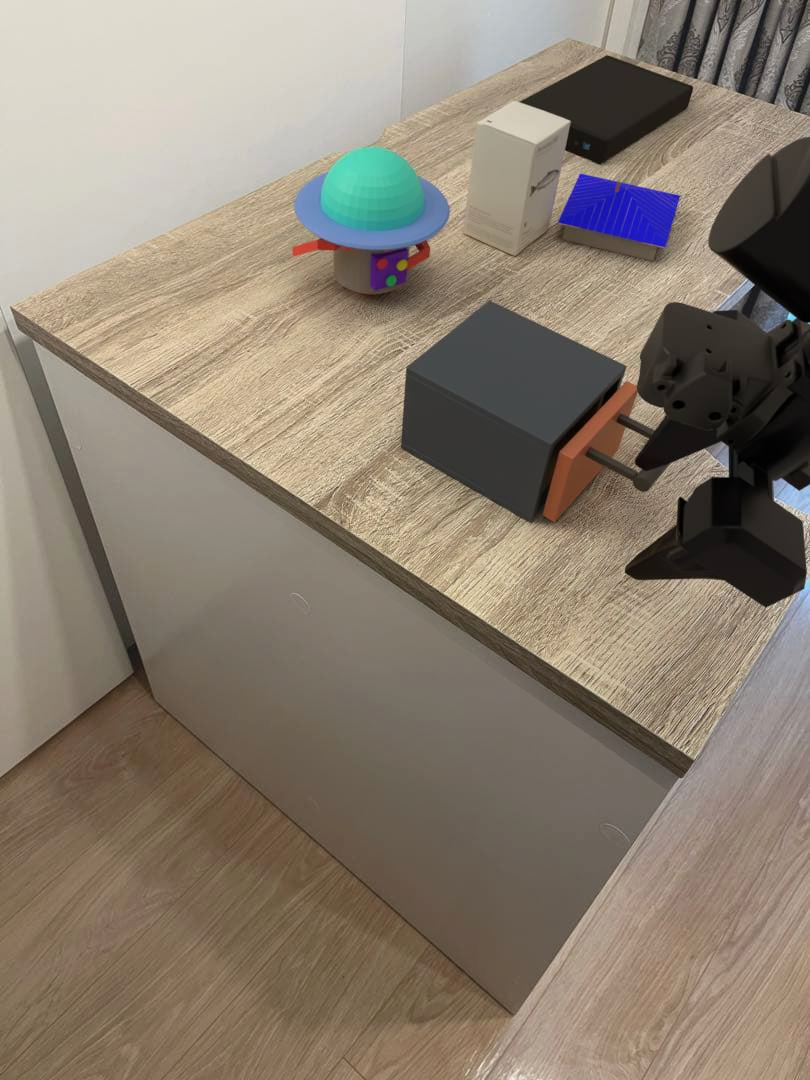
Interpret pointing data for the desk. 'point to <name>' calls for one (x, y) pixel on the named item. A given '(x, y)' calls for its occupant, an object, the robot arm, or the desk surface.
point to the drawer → (595, 451)
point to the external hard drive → (611, 105)
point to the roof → (618, 216)
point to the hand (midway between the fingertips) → (635, 517)
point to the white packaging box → (514, 176)
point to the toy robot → (371, 218)
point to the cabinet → (501, 403)
